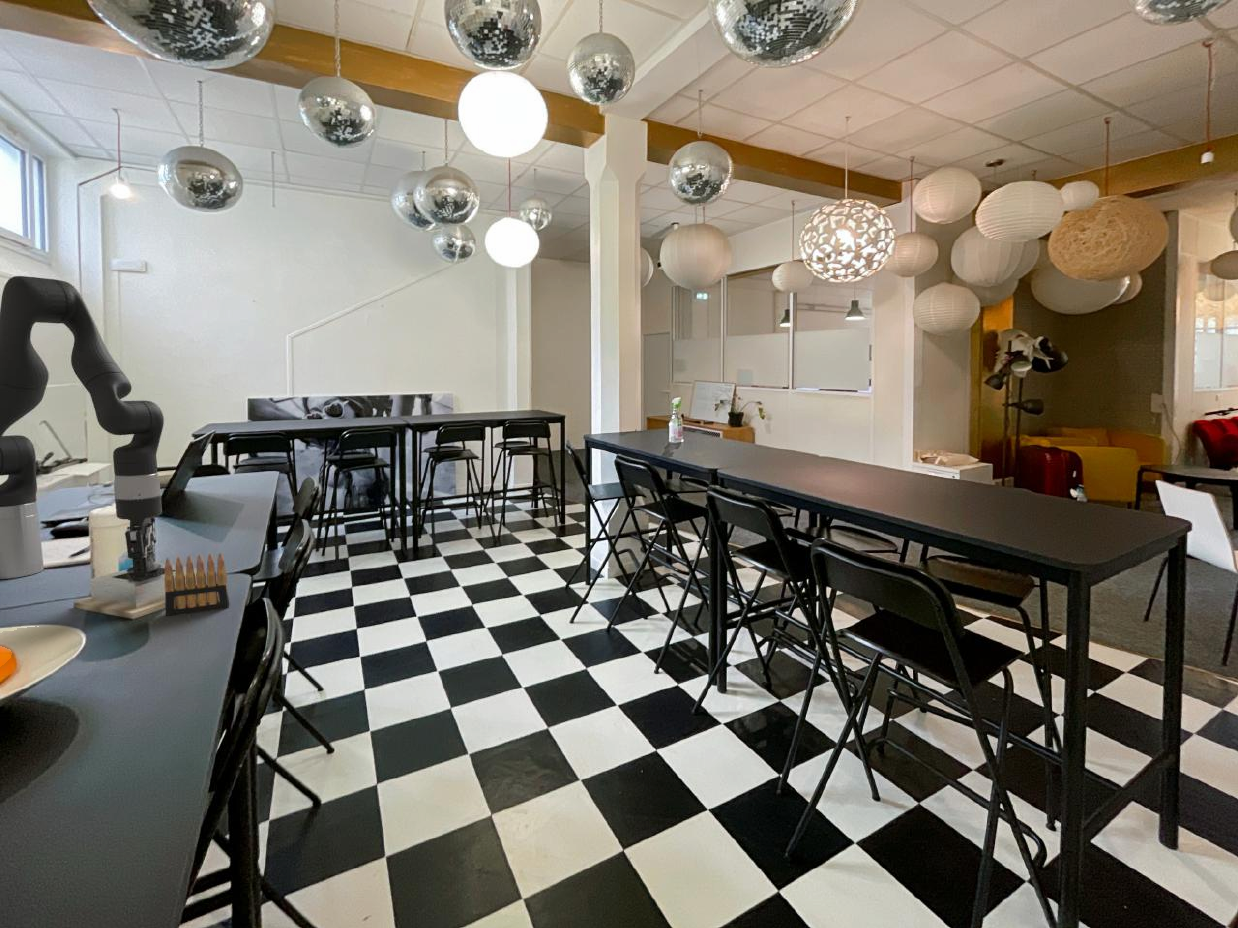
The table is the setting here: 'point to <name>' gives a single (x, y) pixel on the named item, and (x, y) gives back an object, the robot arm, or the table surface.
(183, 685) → the table surface
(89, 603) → the base board
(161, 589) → the square socket
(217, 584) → the ammunition clip
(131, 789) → the table surface
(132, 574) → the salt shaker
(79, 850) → the table surface
